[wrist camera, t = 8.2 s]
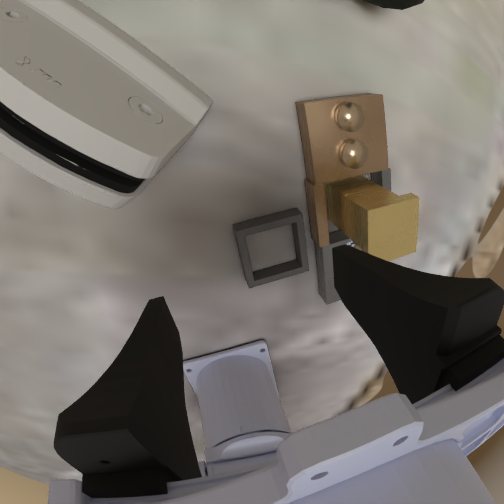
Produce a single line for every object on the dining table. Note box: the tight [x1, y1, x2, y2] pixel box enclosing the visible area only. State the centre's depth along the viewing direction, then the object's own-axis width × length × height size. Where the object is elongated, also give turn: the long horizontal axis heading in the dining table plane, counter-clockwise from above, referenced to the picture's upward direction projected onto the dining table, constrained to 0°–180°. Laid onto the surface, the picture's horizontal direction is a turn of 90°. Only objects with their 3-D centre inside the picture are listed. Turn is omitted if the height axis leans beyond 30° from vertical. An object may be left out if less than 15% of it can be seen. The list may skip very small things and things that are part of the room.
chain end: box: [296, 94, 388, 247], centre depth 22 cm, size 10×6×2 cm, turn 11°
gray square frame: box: [233, 208, 309, 288], centre depth 24 cm, size 5×5×1 cm
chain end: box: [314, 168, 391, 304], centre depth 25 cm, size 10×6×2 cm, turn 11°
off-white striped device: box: [0, 0, 213, 209], centre depth 13 cm, size 17×5×10 cm, turn 47°
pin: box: [324, 175, 419, 261], centre depth 21 cm, size 4×4×7 cm
